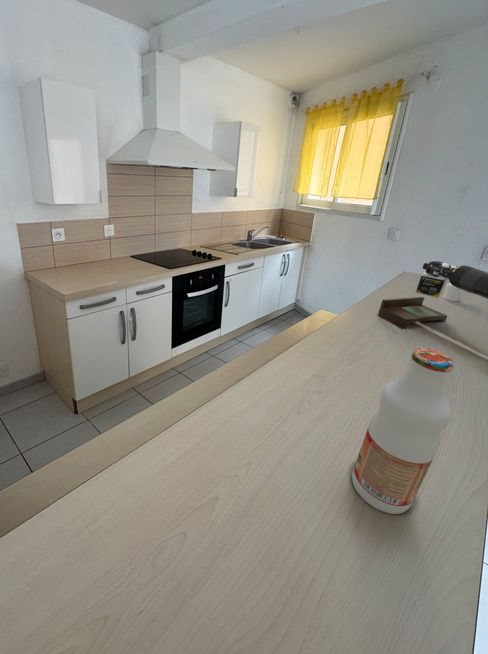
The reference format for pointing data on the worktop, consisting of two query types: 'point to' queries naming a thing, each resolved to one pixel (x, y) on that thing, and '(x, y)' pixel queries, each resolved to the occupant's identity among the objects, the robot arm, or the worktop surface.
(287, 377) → the worktop surface
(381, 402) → the fruit juice
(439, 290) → the medicine bottle
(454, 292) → the white cylinder
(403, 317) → the dark wooden tray
